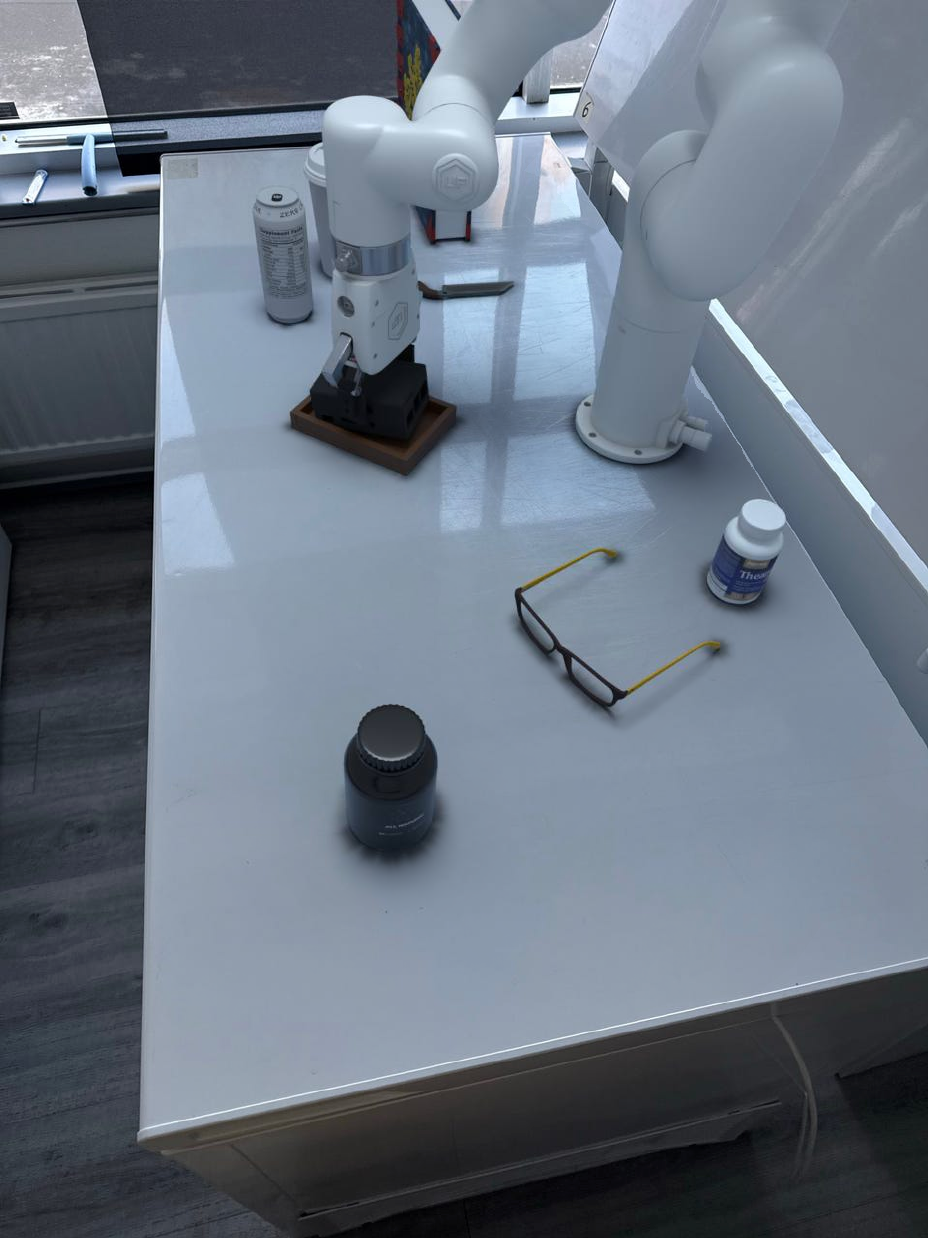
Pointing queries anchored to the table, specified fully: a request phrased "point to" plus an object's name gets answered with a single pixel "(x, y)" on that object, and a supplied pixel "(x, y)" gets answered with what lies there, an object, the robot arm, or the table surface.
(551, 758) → the table surface
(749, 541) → the pill bottle
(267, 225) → the energy drink can
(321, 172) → the coffee cup
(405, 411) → the electronic device
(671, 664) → the eyeglasses
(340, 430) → the docking tray
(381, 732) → the supplement bottle
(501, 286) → the knife
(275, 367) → the table surface
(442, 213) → the book
